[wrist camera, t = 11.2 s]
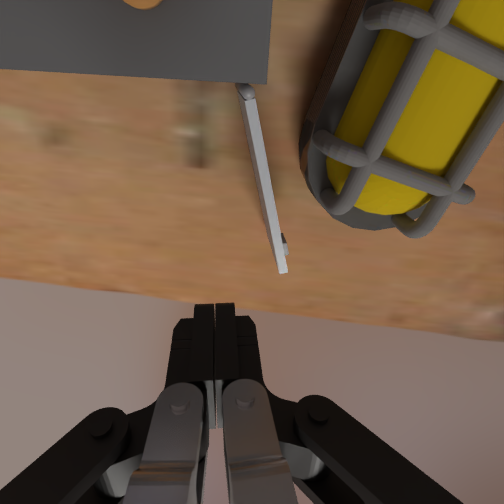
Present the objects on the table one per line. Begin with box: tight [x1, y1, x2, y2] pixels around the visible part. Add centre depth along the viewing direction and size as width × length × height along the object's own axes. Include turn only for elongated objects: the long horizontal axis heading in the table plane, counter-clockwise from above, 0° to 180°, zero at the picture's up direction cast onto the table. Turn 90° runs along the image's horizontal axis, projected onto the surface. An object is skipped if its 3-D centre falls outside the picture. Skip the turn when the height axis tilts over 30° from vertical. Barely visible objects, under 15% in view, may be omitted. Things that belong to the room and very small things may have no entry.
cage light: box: [299, 0, 504, 238], centre depth 26 cm, size 15×8×30 cm
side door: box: [235, 83, 289, 274], centre depth 28 cm, size 1×14×7 cm, turn 12°
